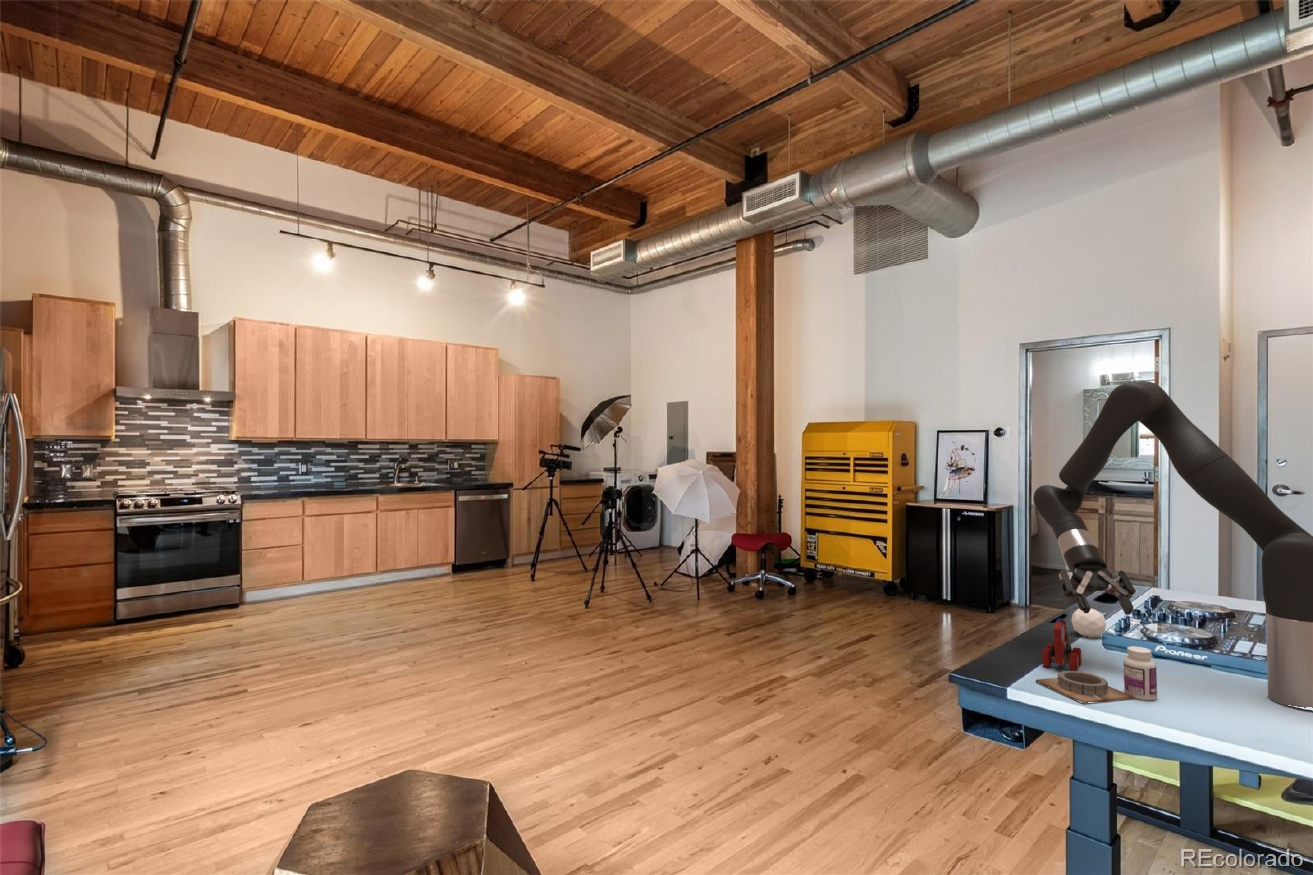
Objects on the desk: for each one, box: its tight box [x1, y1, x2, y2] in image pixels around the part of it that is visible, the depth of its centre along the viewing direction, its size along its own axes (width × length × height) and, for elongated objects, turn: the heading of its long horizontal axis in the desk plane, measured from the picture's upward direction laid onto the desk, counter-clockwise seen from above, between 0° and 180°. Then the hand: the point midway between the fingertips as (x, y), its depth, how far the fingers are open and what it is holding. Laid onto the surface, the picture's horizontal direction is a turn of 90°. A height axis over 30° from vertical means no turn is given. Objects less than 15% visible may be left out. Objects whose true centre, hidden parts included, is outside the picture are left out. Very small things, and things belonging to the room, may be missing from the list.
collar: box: [1035, 670, 1134, 703], centre depth 132 cm, size 12×12×3 cm
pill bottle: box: [1122, 645, 1158, 701], centre depth 129 cm, size 5×5×10 cm
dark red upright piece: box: [1041, 618, 1083, 671], centre depth 147 cm, size 7×12×10 cm, turn 140°
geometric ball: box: [1071, 608, 1107, 639], centre depth 169 cm, size 8×8×8 cm
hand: (1108, 612), depth 140 cm, fingers open, 8 cm apart
